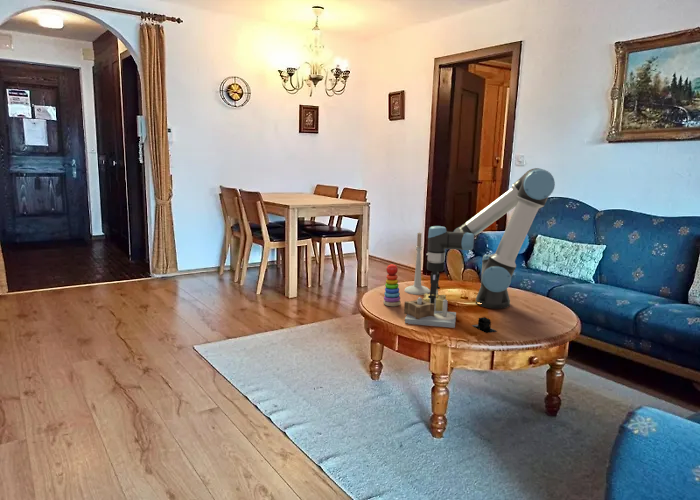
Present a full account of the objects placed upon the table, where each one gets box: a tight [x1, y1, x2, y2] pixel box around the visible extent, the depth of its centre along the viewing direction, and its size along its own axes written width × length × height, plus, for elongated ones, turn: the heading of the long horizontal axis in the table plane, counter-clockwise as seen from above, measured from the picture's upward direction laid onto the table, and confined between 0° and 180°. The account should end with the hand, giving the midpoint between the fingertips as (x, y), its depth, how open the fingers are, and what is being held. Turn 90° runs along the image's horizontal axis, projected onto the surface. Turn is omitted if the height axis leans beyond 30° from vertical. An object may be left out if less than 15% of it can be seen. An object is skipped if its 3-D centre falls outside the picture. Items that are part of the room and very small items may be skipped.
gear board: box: [404, 296, 457, 329], centre depth 208 cm, size 20×14×9 cm
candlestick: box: [404, 232, 430, 296], centre depth 248 cm, size 13×13×30 cm
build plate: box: [471, 316, 498, 334], centre depth 199 cm, size 12×7×5 cm, turn 24°
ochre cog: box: [422, 293, 447, 311], centre depth 224 cm, size 10×10×5 cm
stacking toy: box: [383, 263, 402, 307], centre depth 227 cm, size 8×8×19 cm
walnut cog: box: [403, 298, 435, 319], centre depth 209 cm, size 10×10×5 cm
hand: (433, 307), depth 225 cm, fingers open, 13 cm apart
